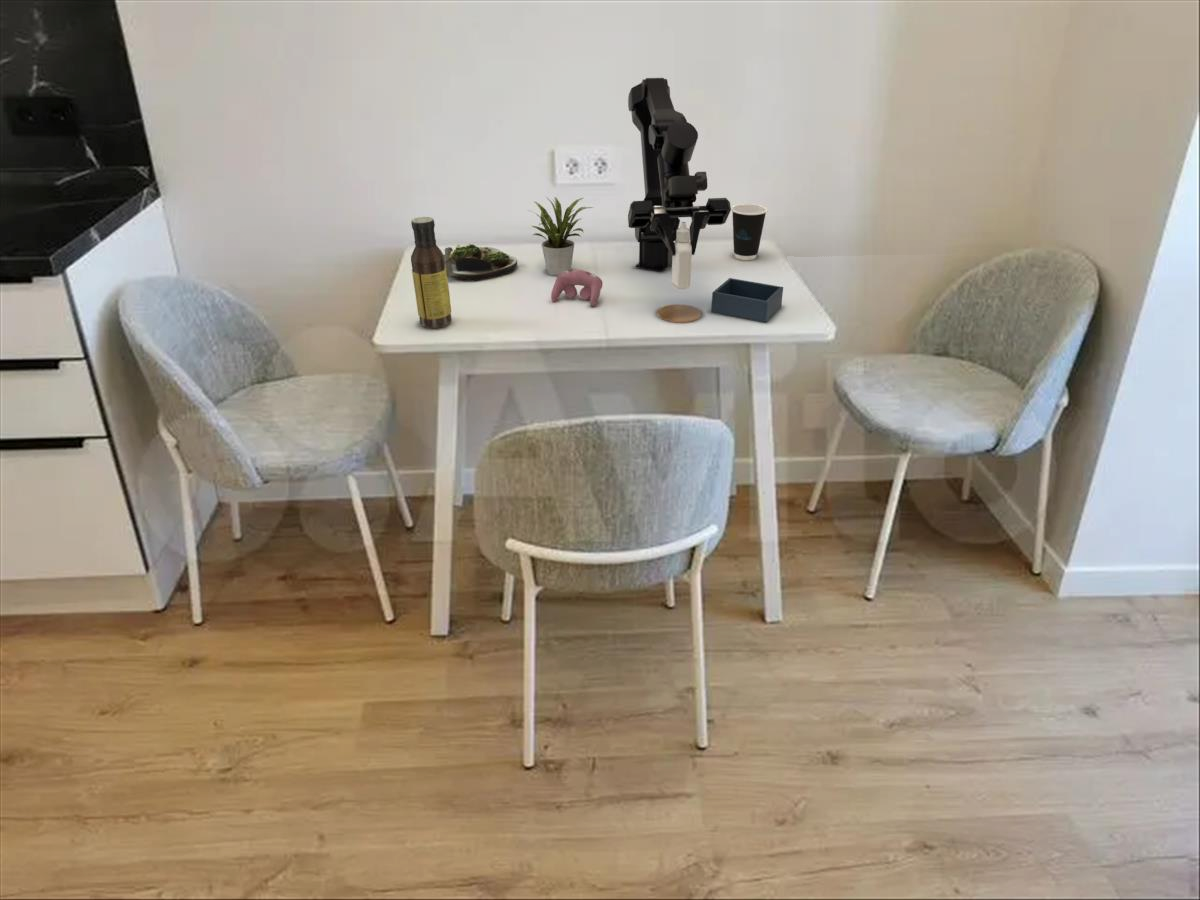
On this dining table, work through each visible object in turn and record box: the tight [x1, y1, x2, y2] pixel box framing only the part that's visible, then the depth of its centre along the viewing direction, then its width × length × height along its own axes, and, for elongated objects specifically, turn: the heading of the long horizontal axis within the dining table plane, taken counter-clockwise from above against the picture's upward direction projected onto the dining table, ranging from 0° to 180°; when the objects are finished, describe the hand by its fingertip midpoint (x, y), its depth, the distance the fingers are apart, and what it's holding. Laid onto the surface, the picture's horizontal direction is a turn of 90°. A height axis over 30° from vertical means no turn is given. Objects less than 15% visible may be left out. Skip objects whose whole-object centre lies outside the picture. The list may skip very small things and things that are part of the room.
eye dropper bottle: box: [671, 221, 693, 290], centre depth 165 cm, size 4×6×12 cm
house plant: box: [527, 196, 595, 276], centre depth 189 cm, size 14×14×16 cm
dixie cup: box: [731, 203, 768, 261], centre depth 198 cm, size 8×8×11 cm
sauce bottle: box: [410, 216, 452, 329], centre depth 163 cm, size 6×6×20 cm
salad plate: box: [443, 243, 518, 282], centre depth 195 cm, size 19×18×5 cm
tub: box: [710, 277, 784, 323], centre depth 172 cm, size 11×9×4 cm
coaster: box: [657, 304, 702, 324], centre depth 171 cm, size 8×8×1 cm
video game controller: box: [550, 269, 603, 307], centre depth 177 cm, size 10×5×7 cm, turn 71°
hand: (683, 254), depth 164 cm, fingers closed on eye dropper bottle, 3 cm apart
